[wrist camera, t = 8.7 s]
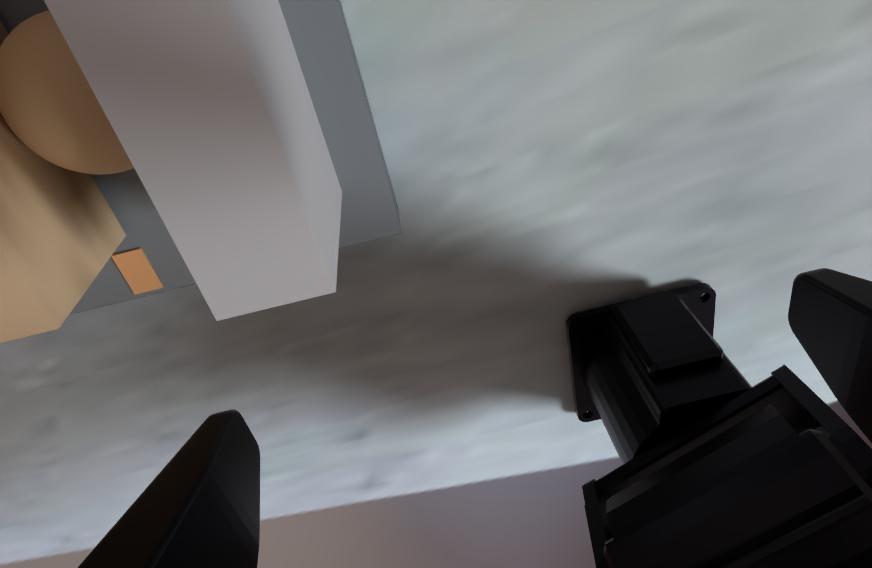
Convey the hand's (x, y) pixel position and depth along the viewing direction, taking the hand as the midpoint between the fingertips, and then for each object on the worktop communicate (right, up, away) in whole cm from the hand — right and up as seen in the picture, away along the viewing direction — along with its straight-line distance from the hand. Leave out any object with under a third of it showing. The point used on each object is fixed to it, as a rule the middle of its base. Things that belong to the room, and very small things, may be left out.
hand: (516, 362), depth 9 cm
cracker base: (-16, +7, +9) cm, 20 cm away
